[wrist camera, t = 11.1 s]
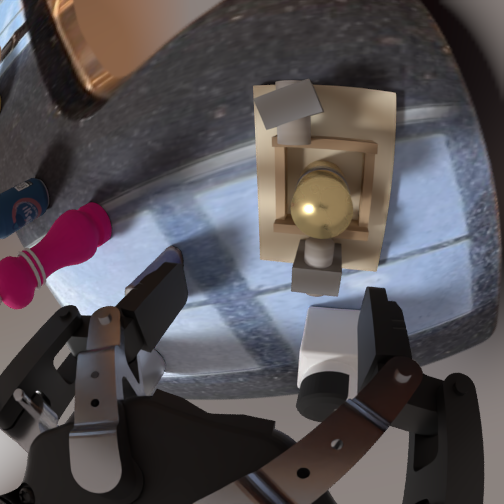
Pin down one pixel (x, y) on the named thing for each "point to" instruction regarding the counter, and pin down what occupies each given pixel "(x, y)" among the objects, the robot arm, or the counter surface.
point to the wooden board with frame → (328, 149)
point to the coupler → (322, 201)
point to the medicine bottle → (327, 361)
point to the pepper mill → (53, 253)
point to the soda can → (22, 205)
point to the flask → (158, 265)
